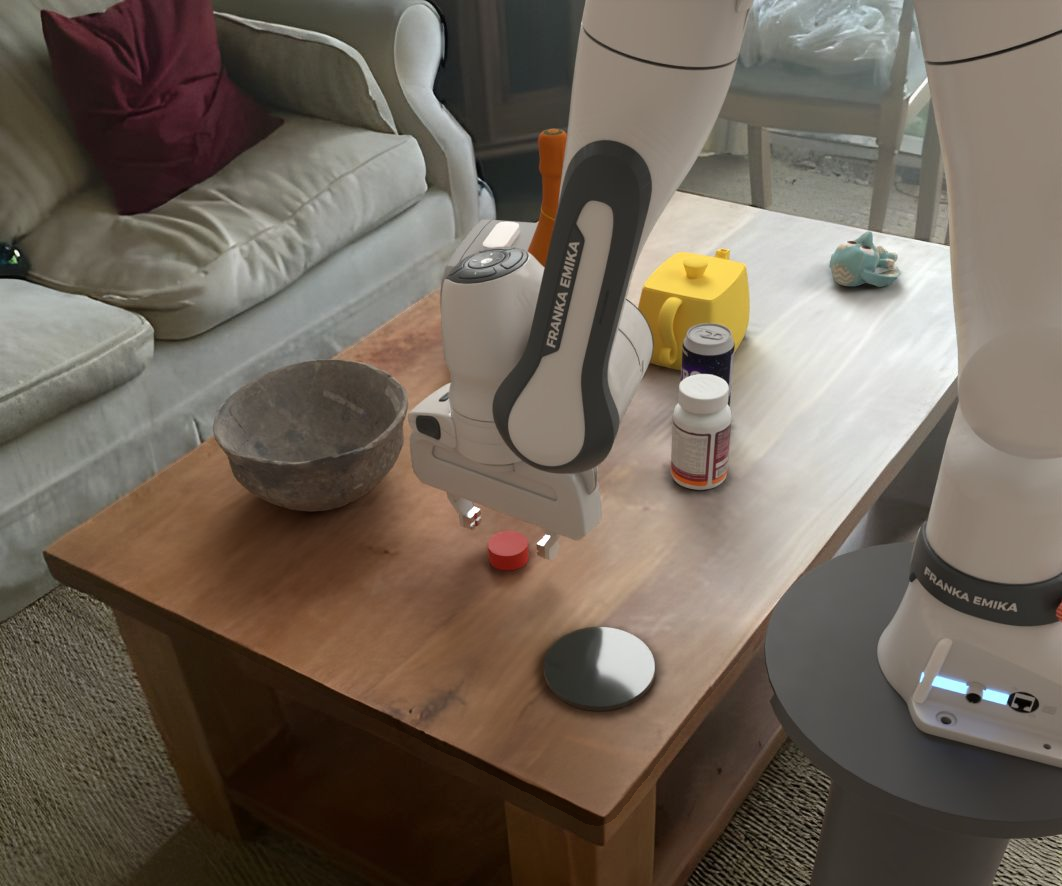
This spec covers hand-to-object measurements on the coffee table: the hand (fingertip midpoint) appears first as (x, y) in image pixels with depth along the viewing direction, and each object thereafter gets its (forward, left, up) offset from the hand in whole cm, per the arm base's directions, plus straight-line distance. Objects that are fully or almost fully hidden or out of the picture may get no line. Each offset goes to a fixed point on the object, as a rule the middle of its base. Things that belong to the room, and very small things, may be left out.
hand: (508, 540), depth 110 cm
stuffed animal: (-8, -76, -2) cm, 76 cm away
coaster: (-16, +9, -2) cm, 18 cm away
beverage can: (-6, -31, -2) cm, 32 cm away
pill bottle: (-10, -22, -2) cm, 24 cm away
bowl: (+25, 0, -2) cm, 25 cm away
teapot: (+4, -48, -2) cm, 48 cm away
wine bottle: (+15, -33, -2) cm, 36 cm away
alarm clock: (+28, -39, -2) cm, 48 cm away
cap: (0, 0, -1) cm, 1 cm away
